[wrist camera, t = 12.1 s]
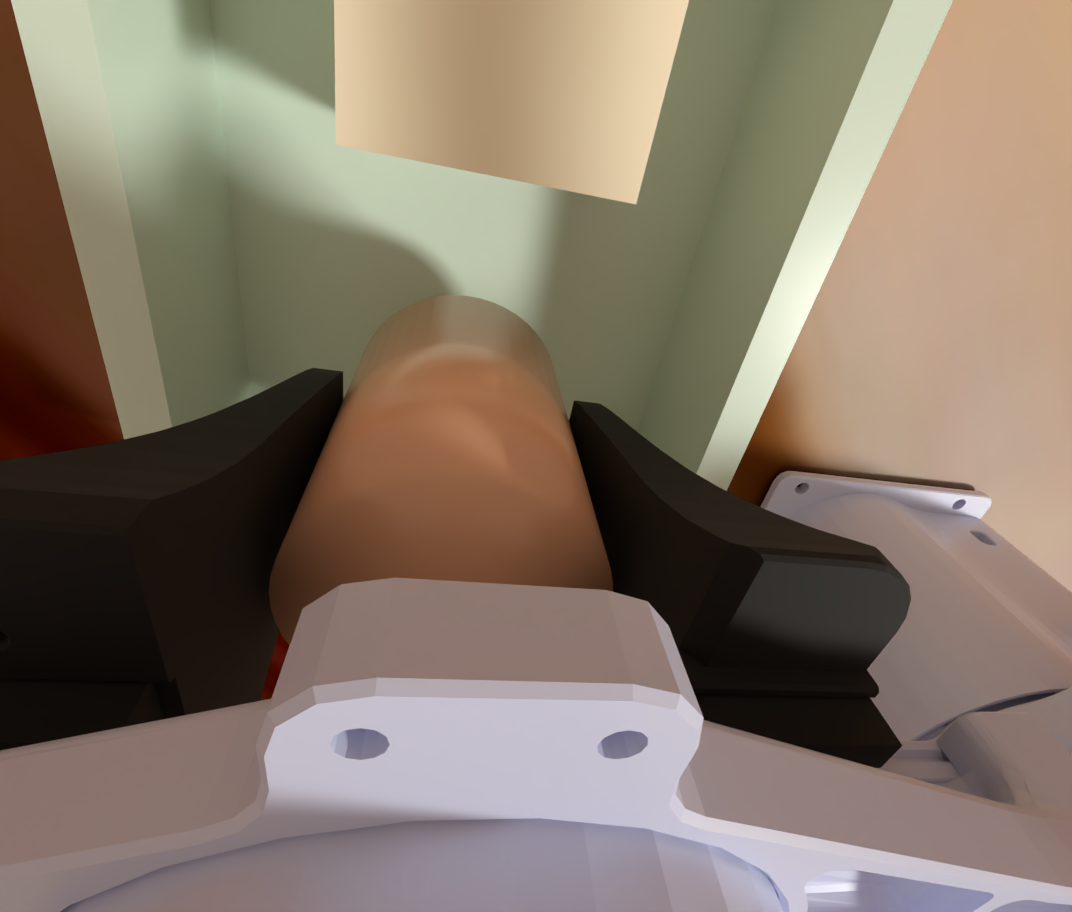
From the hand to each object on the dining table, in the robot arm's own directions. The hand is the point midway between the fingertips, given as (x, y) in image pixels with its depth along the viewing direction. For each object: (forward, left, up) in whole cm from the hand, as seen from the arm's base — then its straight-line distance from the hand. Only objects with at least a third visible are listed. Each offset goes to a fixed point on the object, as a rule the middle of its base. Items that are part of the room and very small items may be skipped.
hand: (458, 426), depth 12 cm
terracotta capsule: (0, 0, -2) cm, 2 cm away
